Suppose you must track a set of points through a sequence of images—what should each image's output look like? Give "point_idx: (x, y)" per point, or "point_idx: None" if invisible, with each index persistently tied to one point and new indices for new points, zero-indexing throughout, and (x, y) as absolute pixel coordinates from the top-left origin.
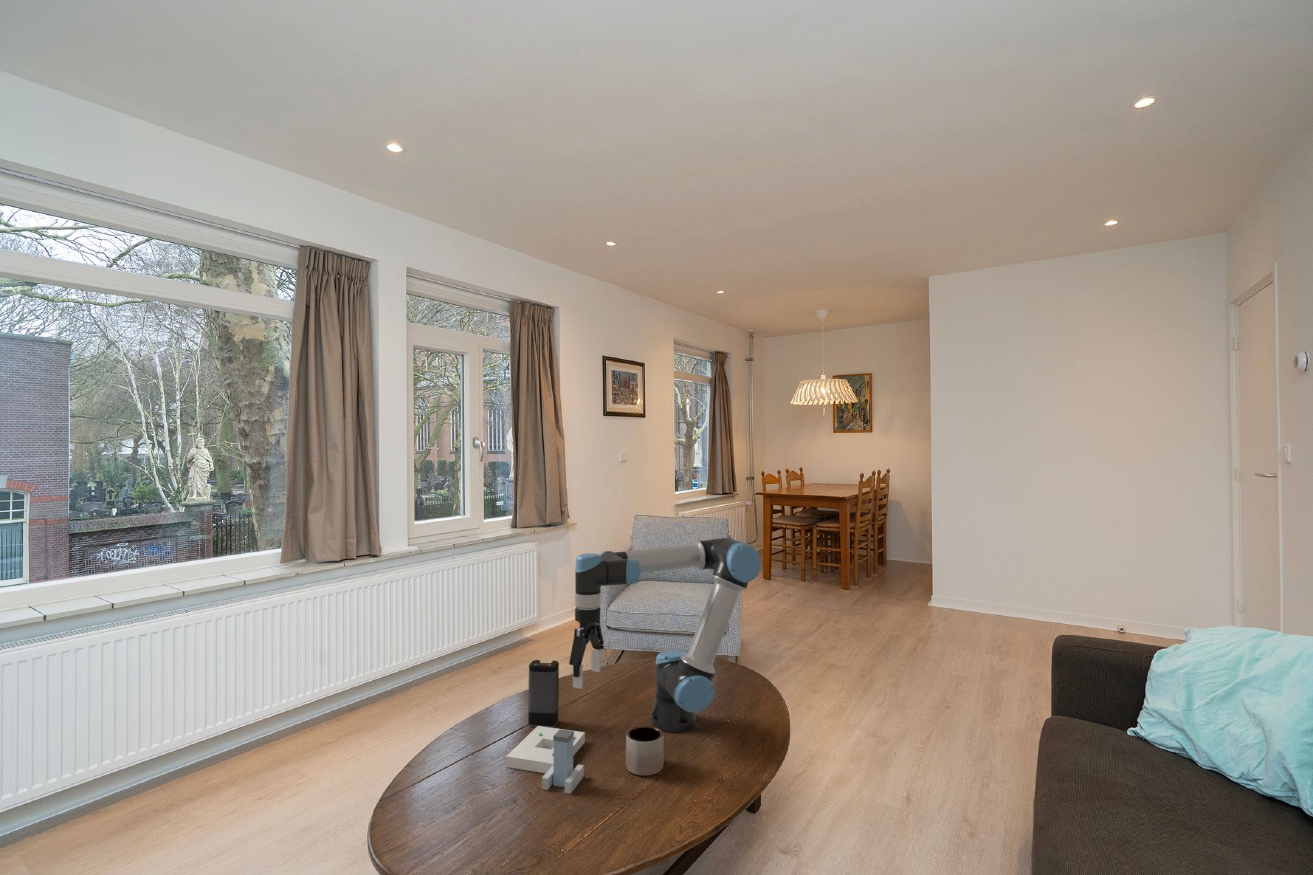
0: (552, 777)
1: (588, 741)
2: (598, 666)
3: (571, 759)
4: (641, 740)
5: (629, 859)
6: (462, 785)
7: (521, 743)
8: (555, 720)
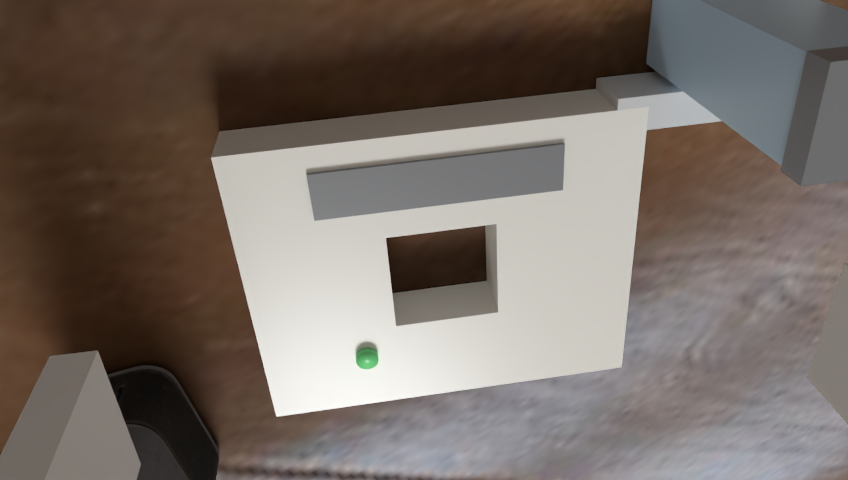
0: None
1: (198, 115)
2: (75, 440)
3: (745, 6)
4: None
5: None
6: (765, 383)
7: (484, 379)
8: (138, 385)
